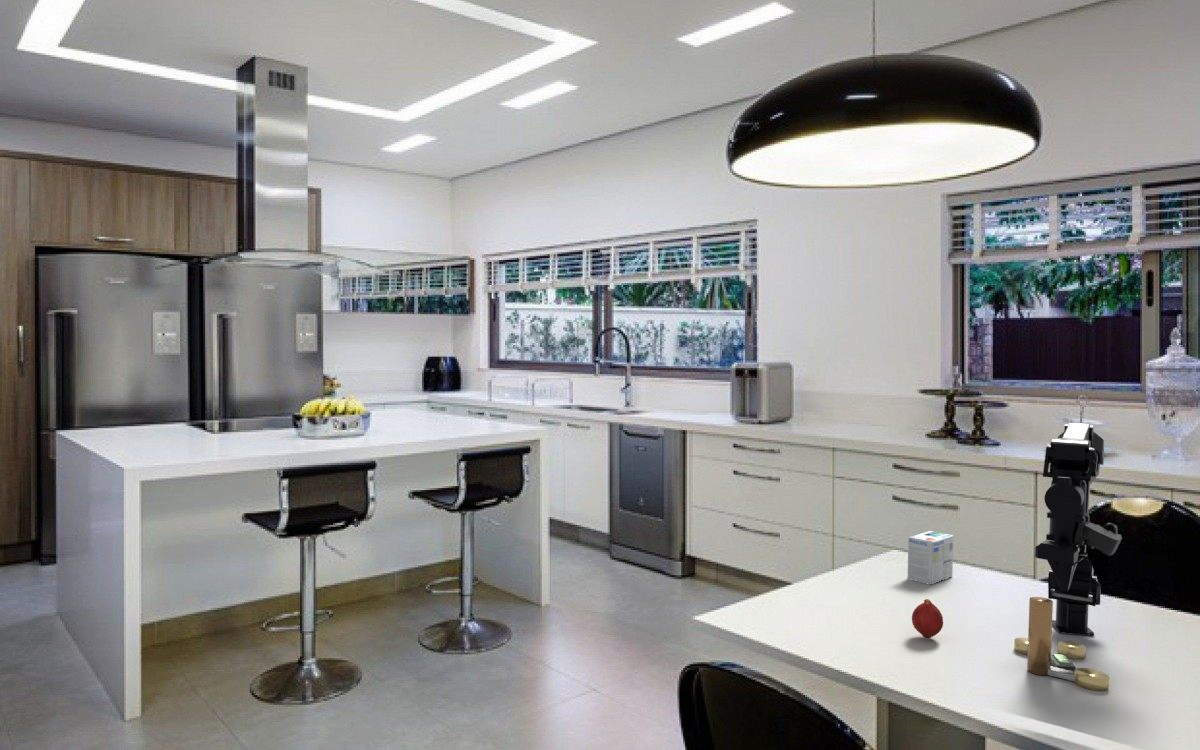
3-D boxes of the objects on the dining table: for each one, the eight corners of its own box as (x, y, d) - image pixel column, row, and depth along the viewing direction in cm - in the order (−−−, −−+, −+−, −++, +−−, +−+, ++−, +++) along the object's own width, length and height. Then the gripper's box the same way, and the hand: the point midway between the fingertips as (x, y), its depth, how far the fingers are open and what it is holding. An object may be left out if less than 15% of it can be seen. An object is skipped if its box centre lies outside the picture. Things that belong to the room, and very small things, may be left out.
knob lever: (1110, 683, 138) (1113, 609, 138) (1106, 693, 134) (1109, 617, 134) (1030, 664, 146) (1032, 594, 145) (1024, 673, 142) (1026, 601, 141)
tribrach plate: (986, 647, 157) (987, 632, 157) (1101, 657, 153) (1101, 641, 153) (1016, 692, 138) (1016, 674, 138) (1148, 704, 133) (1149, 686, 133)
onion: (917, 630, 166) (918, 592, 166) (946, 637, 162) (947, 598, 162) (907, 638, 162) (908, 599, 161) (937, 646, 158) (938, 605, 157)
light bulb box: (927, 571, 208) (929, 529, 208) (953, 577, 203) (954, 534, 203) (906, 579, 201) (907, 536, 201) (932, 585, 196) (933, 541, 196)
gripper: (1107, 521, 139) (1104, 612, 139) (1128, 507, 153) (1125, 589, 153) (1035, 512, 146) (1032, 598, 147) (1061, 498, 160) (1058, 577, 161)
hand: (1064, 590), depth 152 cm, fingers closed
